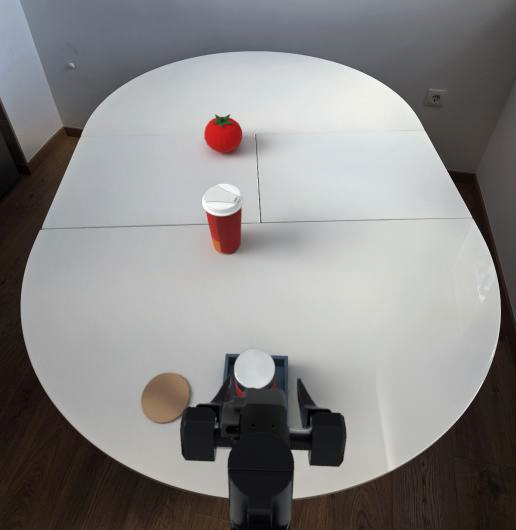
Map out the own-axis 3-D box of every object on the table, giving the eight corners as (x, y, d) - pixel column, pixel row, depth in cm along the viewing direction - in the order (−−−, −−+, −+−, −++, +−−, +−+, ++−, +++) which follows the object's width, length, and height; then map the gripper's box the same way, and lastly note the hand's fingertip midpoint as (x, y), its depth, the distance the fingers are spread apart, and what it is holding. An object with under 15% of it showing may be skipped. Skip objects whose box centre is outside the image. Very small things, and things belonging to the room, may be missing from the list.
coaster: (185, 424, 69) (185, 423, 69) (136, 422, 69) (135, 421, 69) (193, 374, 75) (192, 373, 74) (147, 372, 75) (147, 371, 75)
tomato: (217, 133, 125) (214, 103, 119) (249, 142, 122) (248, 112, 115) (198, 153, 119) (194, 124, 112) (232, 164, 115) (230, 134, 108)
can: (274, 414, 69) (275, 390, 62) (235, 413, 70) (231, 388, 63) (274, 375, 74) (275, 348, 67) (238, 374, 74) (235, 347, 67)
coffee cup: (251, 235, 97) (249, 187, 87) (236, 263, 92) (233, 215, 81) (217, 225, 99) (211, 177, 89) (201, 252, 94) (193, 204, 84)
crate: (287, 431, 68) (288, 424, 66) (220, 428, 68) (218, 420, 66) (287, 364, 76) (288, 355, 73) (226, 362, 76) (225, 353, 74)
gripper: (363, 451, 40) (339, 333, 54) (163, 442, 40) (192, 328, 55) (351, 526, 44) (331, 398, 59) (170, 518, 45) (195, 393, 59)
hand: (264, 379), depth 58 cm, fingers open, 9 cm apart
